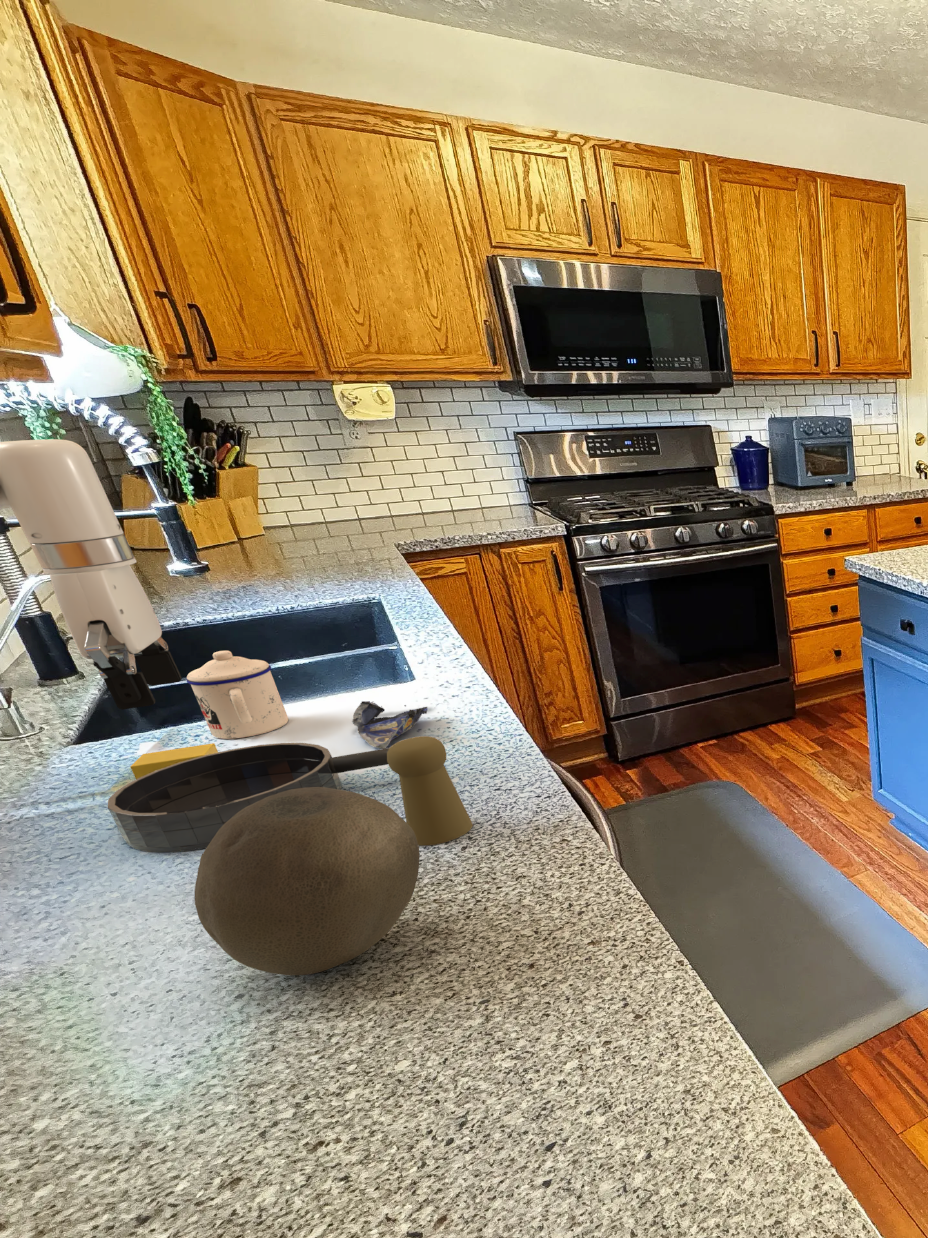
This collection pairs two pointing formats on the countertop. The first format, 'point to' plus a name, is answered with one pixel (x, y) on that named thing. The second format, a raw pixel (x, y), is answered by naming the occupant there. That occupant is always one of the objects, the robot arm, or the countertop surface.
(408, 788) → the cork
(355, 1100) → the countertop surface
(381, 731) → the snack package
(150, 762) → the sponge
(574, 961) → the countertop surface
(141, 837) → the pan
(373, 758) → the pan handle
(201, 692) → the teacup with lid
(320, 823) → the cantaloupe
